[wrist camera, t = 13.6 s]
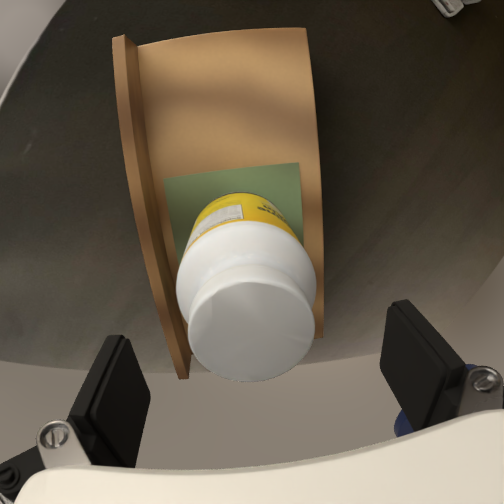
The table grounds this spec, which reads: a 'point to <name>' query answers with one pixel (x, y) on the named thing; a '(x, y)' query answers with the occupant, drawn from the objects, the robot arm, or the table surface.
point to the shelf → (217, 146)
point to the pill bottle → (246, 290)
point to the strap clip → (452, 6)
